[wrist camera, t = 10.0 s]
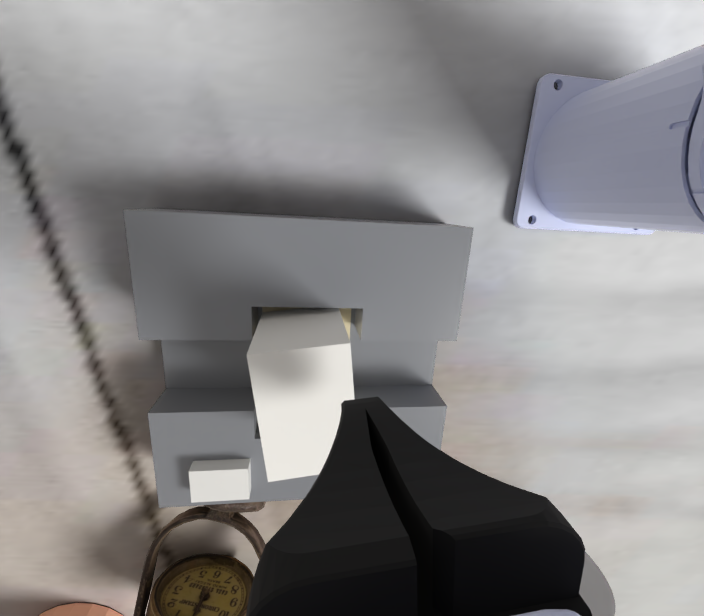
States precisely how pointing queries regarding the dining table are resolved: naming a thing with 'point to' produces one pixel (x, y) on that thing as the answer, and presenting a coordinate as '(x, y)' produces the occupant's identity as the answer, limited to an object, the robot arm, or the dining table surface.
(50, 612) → the pepper shaker
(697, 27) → the dining table surface
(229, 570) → the bronze loop with drum
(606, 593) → the bent grey cylinder
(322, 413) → the plug
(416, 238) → the socket board
